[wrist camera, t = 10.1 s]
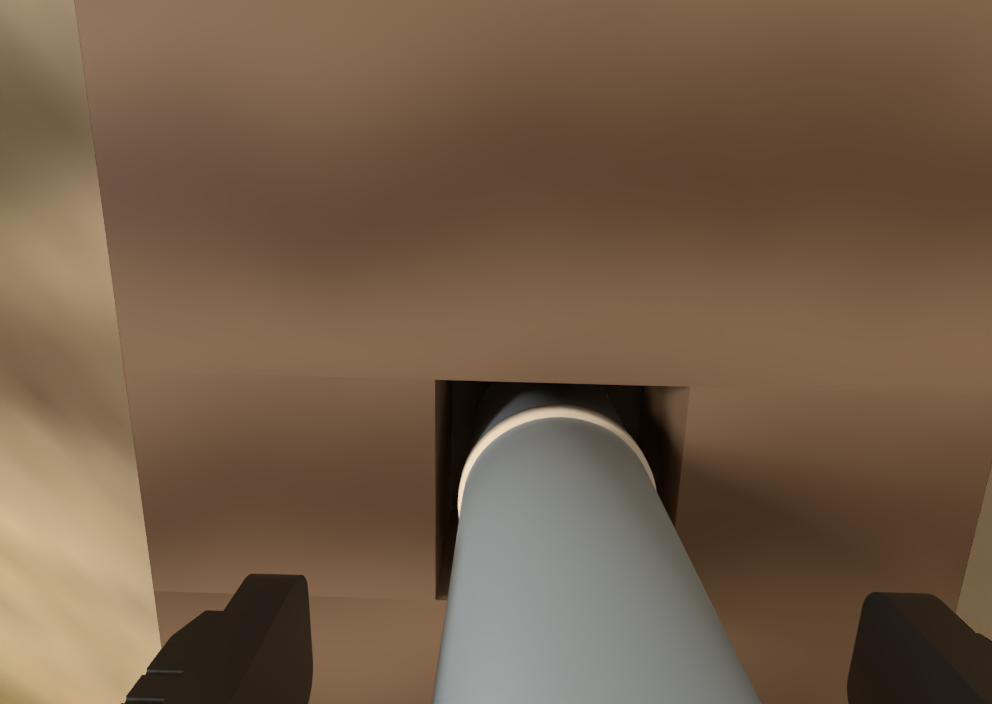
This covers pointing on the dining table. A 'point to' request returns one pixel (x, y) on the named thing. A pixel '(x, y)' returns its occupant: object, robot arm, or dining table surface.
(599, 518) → the peg
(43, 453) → the dining table surface
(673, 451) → the socket block
